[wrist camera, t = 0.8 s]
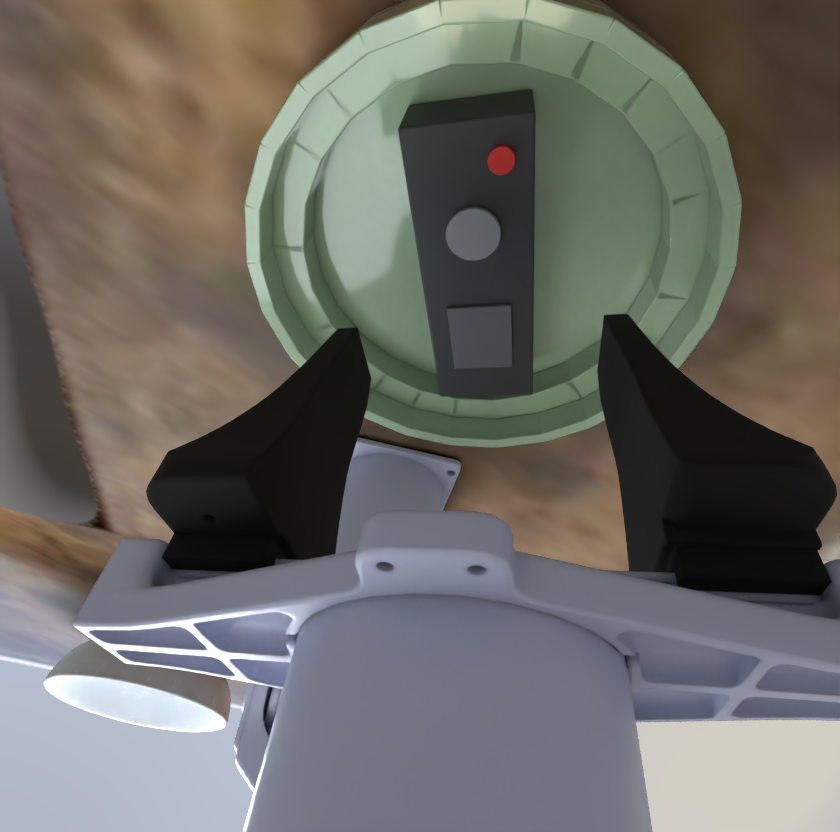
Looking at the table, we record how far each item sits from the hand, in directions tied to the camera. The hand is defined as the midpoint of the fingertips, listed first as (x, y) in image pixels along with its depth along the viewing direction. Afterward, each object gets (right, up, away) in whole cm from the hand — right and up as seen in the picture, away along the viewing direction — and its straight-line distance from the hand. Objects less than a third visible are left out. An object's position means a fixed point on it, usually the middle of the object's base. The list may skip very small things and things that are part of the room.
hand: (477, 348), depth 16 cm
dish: (+1, +5, +7) cm, 9 cm away
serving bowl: (-34, -31, +51) cm, 69 cm away
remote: (+1, +5, +7) cm, 9 cm away
